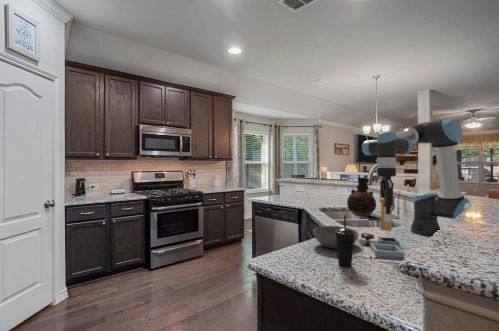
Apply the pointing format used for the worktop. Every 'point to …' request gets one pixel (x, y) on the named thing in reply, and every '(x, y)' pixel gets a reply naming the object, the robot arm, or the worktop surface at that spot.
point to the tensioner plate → (380, 241)
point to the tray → (396, 253)
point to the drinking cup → (345, 245)
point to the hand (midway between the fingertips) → (386, 220)
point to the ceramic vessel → (361, 199)
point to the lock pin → (384, 225)
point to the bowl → (329, 235)
